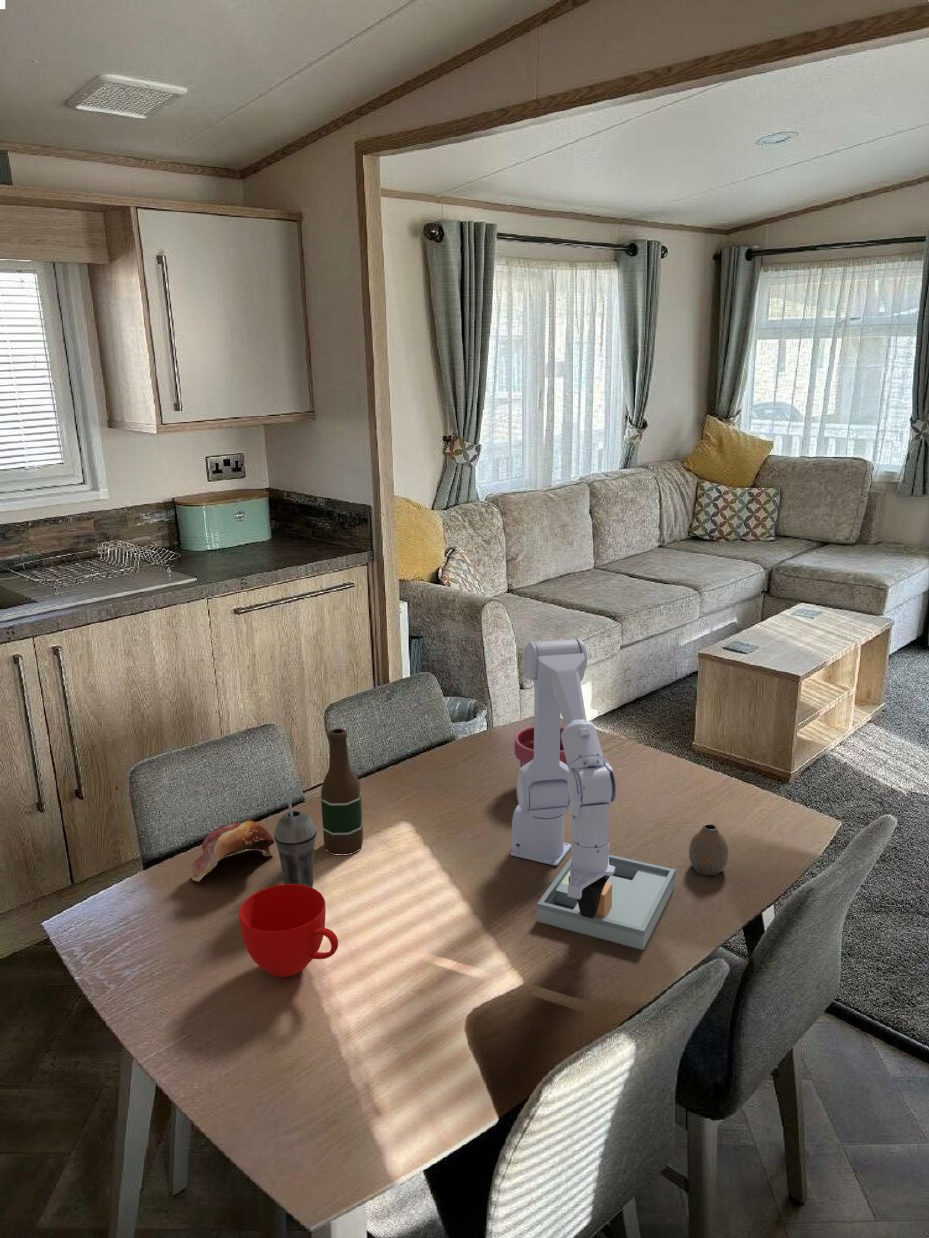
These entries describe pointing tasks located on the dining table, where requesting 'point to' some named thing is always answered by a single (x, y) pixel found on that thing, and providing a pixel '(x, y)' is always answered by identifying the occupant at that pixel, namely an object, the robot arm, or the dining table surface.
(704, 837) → the vase
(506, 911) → the dining table surface
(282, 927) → the ceramic cup
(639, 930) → the box
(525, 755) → the plant pot
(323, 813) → the beer bottle
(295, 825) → the beverage cup
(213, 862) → the brown arched piece
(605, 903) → the block
